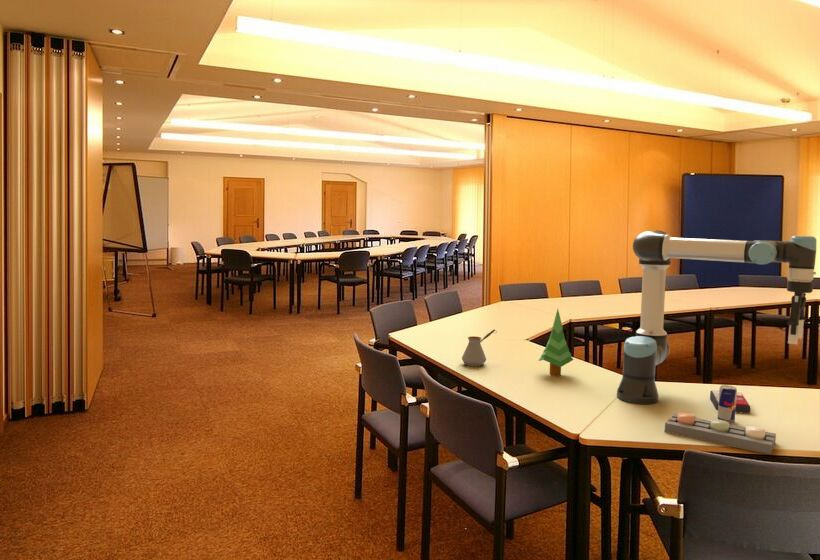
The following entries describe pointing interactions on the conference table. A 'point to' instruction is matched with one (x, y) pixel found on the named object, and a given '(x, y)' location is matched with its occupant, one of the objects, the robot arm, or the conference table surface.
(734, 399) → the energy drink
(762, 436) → the white button
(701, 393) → the conference table surface
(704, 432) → the button panel
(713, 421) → the sage button
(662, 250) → the robot arm
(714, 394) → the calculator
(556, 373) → the decorative tree
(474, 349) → the coffee pot
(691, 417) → the terracotta button
